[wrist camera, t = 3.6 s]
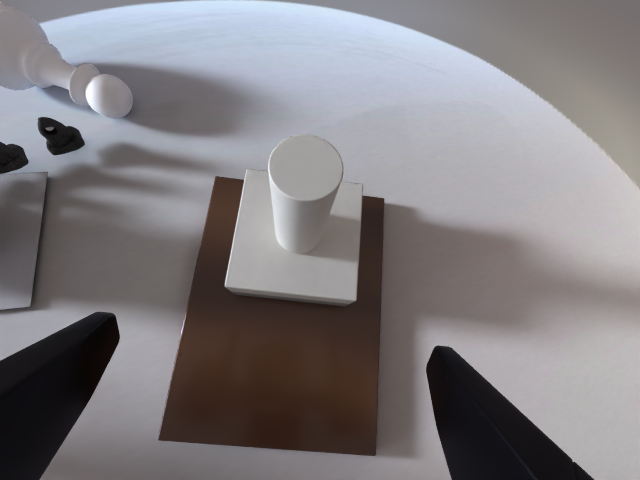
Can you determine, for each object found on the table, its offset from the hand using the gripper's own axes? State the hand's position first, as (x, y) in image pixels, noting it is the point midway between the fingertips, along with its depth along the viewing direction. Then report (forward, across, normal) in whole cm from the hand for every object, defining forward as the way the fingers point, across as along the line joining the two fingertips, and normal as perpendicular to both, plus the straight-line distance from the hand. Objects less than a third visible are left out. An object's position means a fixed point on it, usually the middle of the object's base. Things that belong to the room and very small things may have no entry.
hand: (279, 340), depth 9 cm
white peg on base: (+11, 0, +3) cm, 12 cm away
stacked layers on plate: (+10, +21, +6) cm, 24 cm away
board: (+9, 0, +6) cm, 11 cm away
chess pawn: (+18, +22, -6) cm, 29 cm away
